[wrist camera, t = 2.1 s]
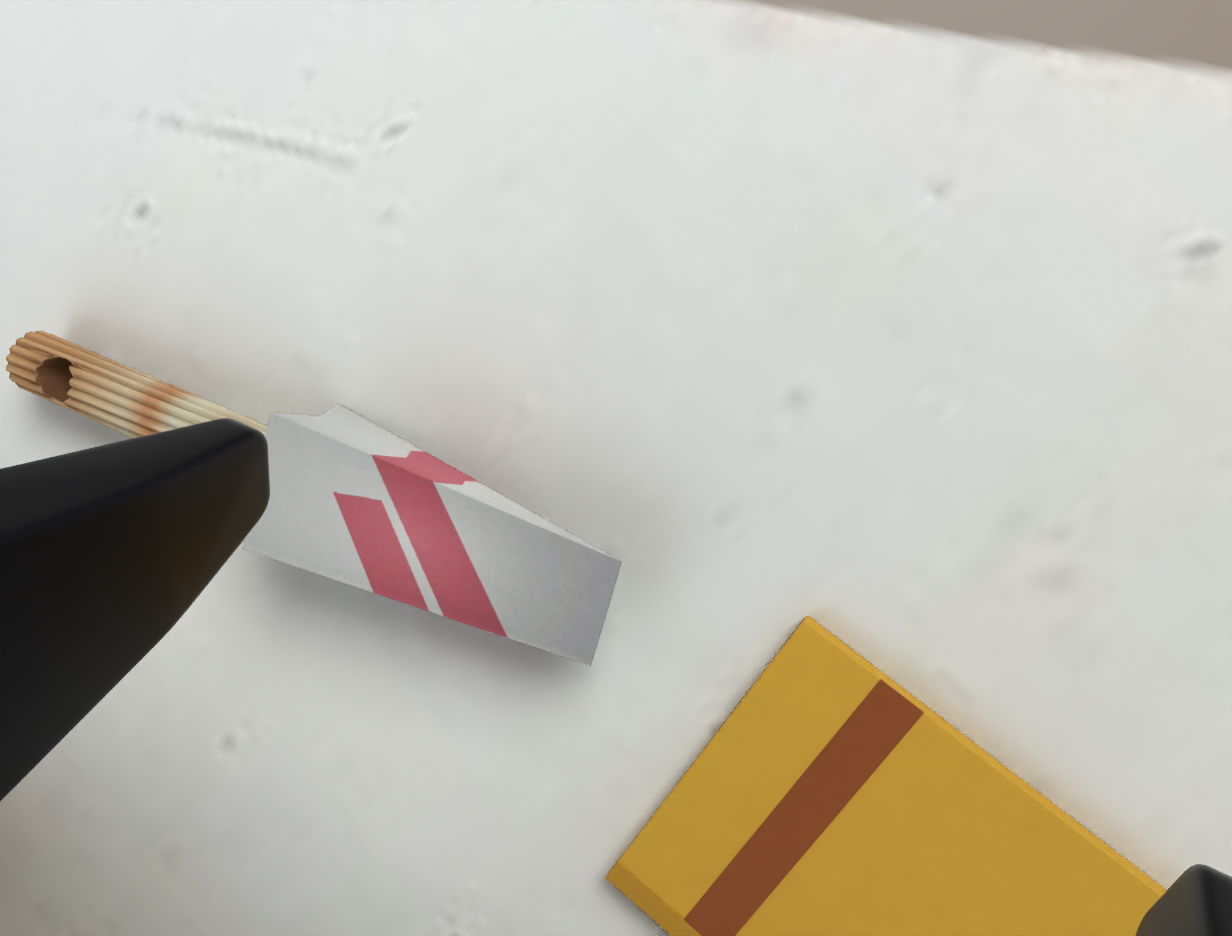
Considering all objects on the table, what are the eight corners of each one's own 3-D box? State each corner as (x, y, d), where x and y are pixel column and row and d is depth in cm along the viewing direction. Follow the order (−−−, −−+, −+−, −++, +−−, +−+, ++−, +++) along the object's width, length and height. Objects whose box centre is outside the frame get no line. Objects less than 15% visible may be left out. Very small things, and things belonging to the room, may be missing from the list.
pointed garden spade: (557, 705, 24) (-19, 418, 31) (605, 671, 27) (62, 412, 34) (603, 555, 24) (-1, 292, 30) (648, 534, 26) (81, 295, 33)
